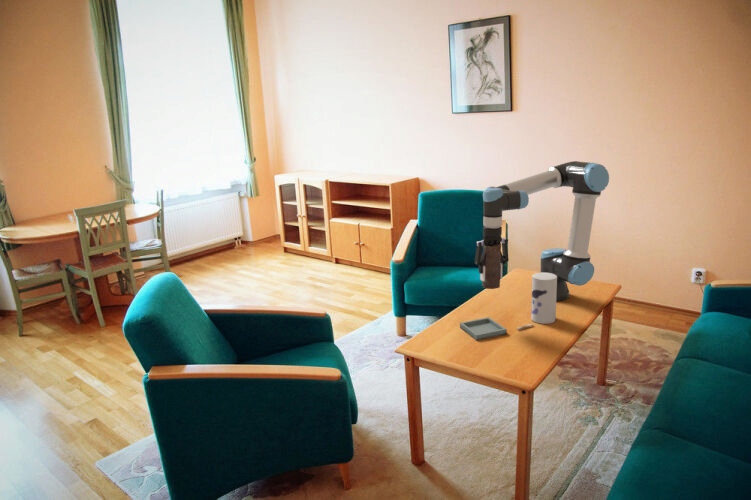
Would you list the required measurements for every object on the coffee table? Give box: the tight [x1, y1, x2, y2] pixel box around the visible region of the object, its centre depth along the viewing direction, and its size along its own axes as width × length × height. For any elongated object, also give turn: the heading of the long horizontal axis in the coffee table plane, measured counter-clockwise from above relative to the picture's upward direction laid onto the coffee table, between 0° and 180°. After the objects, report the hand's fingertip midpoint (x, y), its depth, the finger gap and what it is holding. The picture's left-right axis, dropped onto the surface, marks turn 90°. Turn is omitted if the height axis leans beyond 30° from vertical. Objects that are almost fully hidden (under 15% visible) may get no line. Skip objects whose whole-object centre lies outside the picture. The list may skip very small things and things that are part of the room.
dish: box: [459, 316, 508, 341], centre depth 219 cm, size 14×14×2 cm
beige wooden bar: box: [515, 323, 534, 331], centre depth 220 cm, size 8×1×1 cm, turn 115°
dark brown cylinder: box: [481, 242, 502, 290], centre depth 220 cm, size 8×7×20 cm
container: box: [530, 272, 557, 325], centre depth 225 cm, size 10×10×20 cm
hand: (491, 279), depth 221 cm, fingers closed on dark brown cylinder, 7 cm apart
